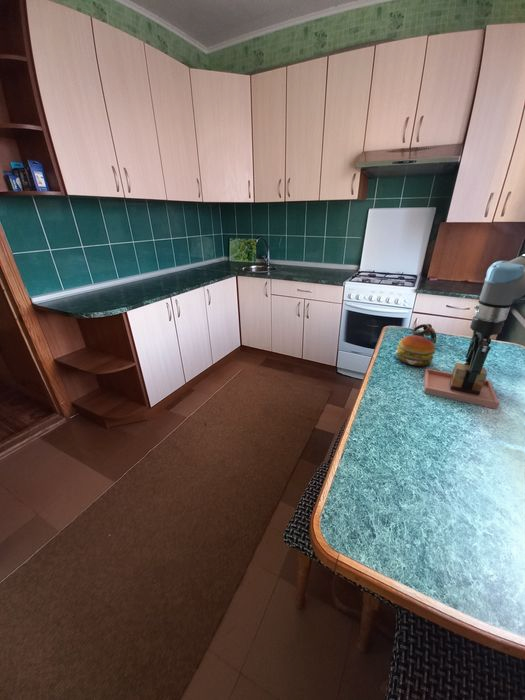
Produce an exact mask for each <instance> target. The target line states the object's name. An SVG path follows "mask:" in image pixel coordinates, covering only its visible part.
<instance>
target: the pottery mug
mask: <svg viewBox="0 0 525 700" xmlns="http://www.w3.org/2000/svg"><path fill="white" fill-rule="evenodd" d="M420 329H422V331H418V330H420ZM417 331H418V332H417ZM411 332H412V334H411V336H415V335H416V336H422V337H425V336H427V337H428V336H429V337H430V339H432V340H433V344H436V343H437V333H436V331H435V329H434V328H433V326H432V324H430V323H423V324H418V325H416V326H415V327H414V328H413V329H412V331H411Z"/></svg>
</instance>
